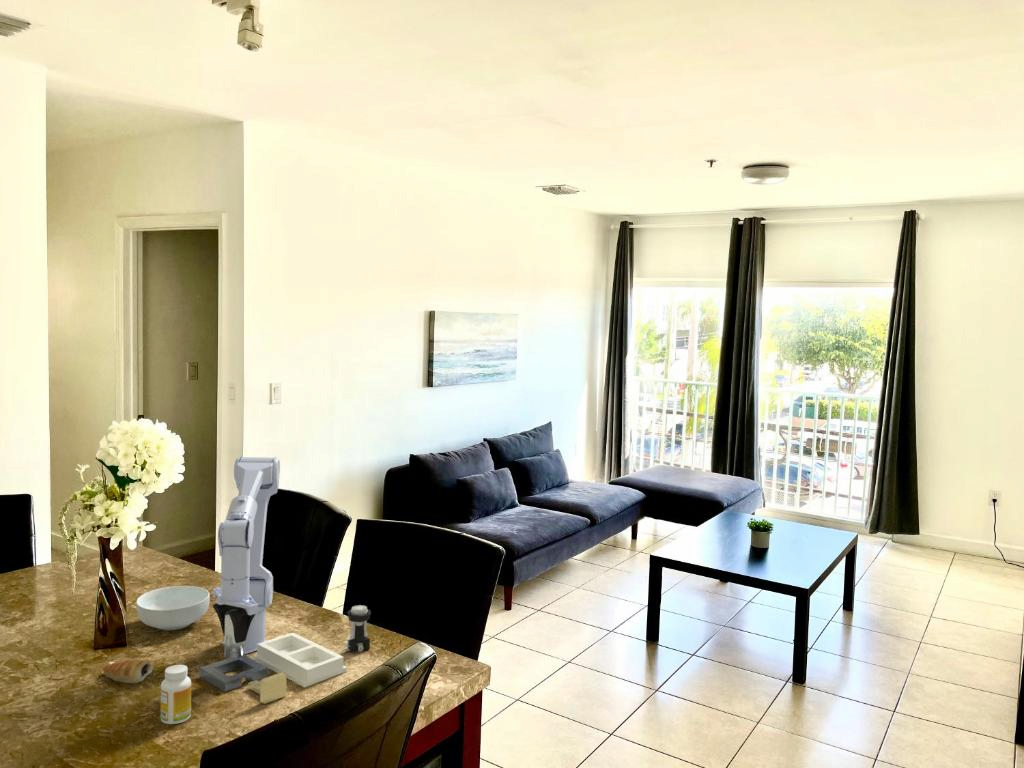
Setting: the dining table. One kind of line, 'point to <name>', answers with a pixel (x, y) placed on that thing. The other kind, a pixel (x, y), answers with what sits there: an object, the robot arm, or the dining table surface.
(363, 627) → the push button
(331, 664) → the tray
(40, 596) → the dining table surface
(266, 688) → the cream block
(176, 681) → the supplement bottle
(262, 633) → the robot arm
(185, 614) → the cereal bowl
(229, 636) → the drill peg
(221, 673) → the socket
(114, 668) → the pastry
